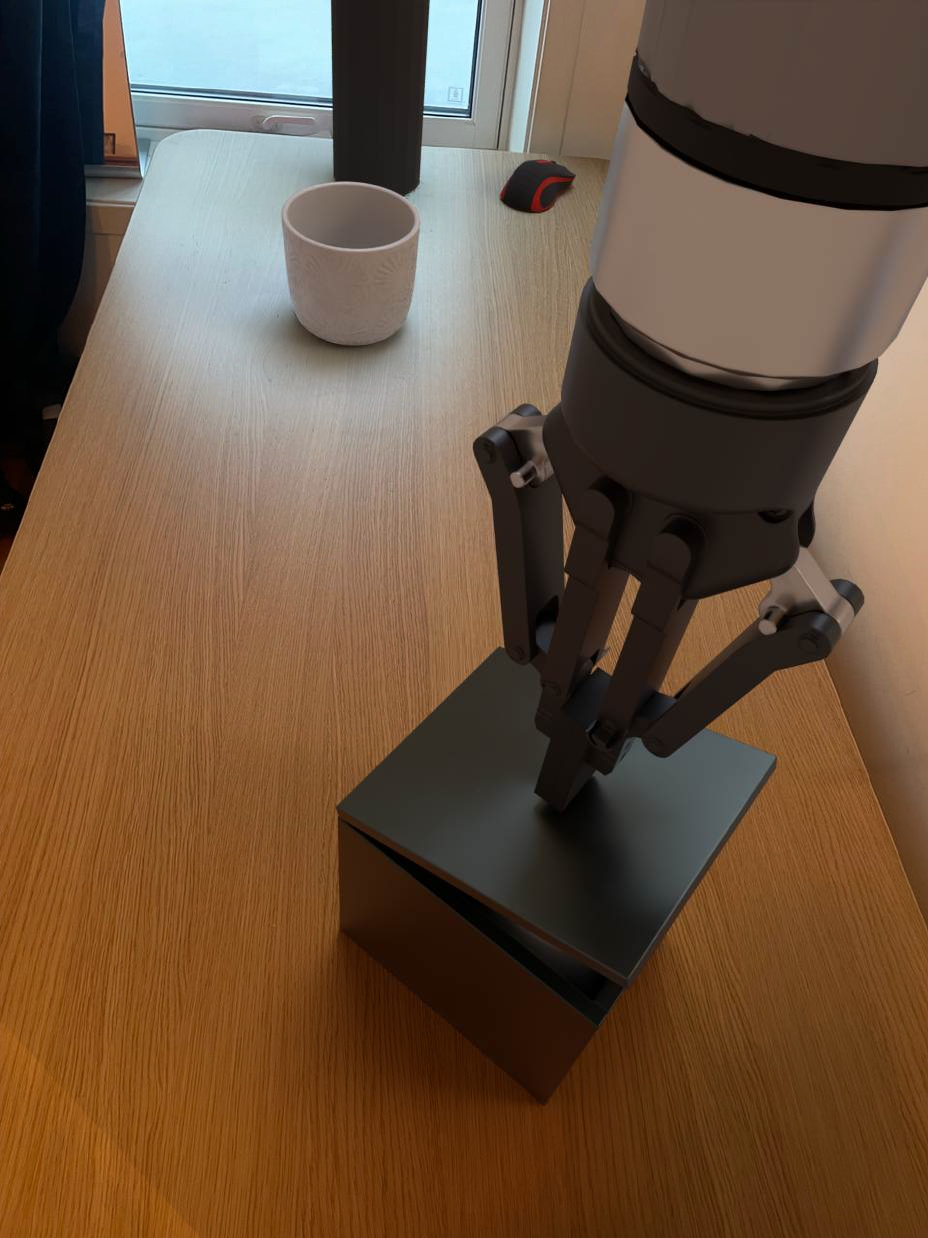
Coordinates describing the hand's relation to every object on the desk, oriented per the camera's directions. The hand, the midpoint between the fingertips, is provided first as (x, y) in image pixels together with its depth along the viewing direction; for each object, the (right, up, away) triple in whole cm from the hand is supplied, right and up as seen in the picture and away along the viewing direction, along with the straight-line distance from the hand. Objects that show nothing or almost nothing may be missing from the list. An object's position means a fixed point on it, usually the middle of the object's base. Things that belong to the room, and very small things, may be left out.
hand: (565, 781), depth 41 cm
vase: (-15, +60, +70) cm, 93 cm away
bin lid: (0, -1, +1) cm, 1 cm away
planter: (-16, +36, +51) cm, 65 cm away
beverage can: (0, -12, +13) cm, 17 cm away
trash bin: (-2, -11, +14) cm, 18 cm away
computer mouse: (+4, +58, +72) cm, 93 cm away
